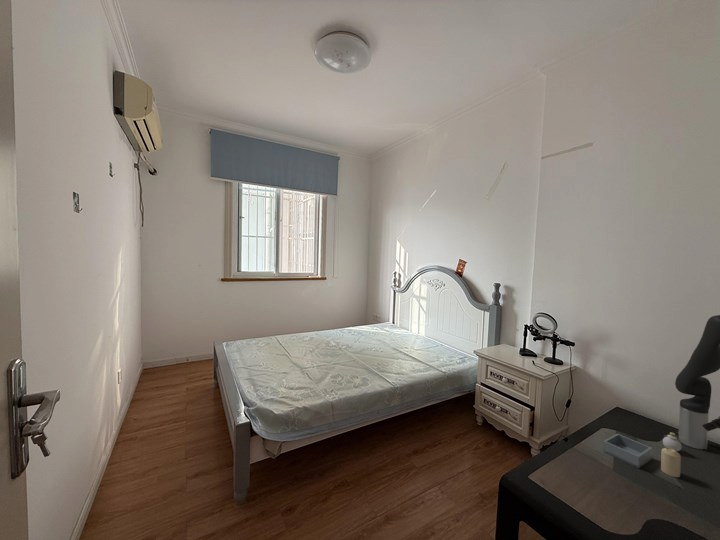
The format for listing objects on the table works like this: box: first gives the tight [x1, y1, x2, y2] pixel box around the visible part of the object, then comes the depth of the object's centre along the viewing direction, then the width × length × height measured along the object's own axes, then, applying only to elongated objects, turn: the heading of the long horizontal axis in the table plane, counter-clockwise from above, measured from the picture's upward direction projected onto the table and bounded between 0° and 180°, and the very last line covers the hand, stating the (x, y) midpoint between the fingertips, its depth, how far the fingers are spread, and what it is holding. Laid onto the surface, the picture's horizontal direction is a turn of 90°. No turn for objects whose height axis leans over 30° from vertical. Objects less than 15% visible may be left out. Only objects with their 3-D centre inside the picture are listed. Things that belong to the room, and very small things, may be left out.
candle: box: [660, 447, 682, 478], centre depth 122 cm, size 6×6×10 cm
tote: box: [602, 433, 653, 469], centre depth 133 cm, size 14×13×5 cm
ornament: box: [662, 431, 685, 452], centre depth 136 cm, size 6×7×10 cm
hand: (709, 425), depth 112 cm, fingers open, 8 cm apart
